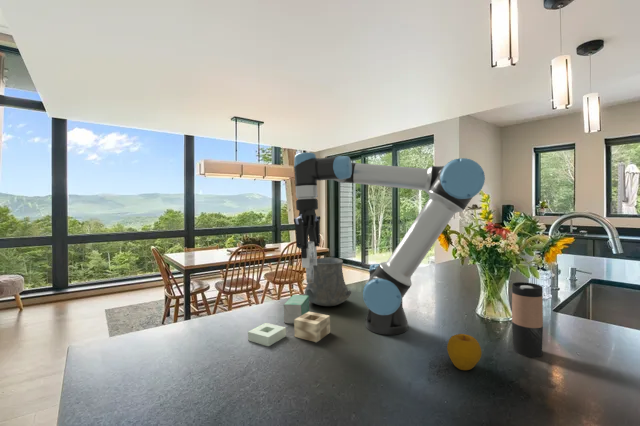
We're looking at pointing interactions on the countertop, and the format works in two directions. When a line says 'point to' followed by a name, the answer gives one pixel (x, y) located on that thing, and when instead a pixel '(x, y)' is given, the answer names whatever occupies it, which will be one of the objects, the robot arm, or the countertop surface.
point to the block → (312, 326)
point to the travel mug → (527, 319)
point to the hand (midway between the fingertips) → (309, 266)
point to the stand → (266, 334)
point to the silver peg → (312, 256)
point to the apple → (464, 351)
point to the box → (295, 307)
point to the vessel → (327, 283)
